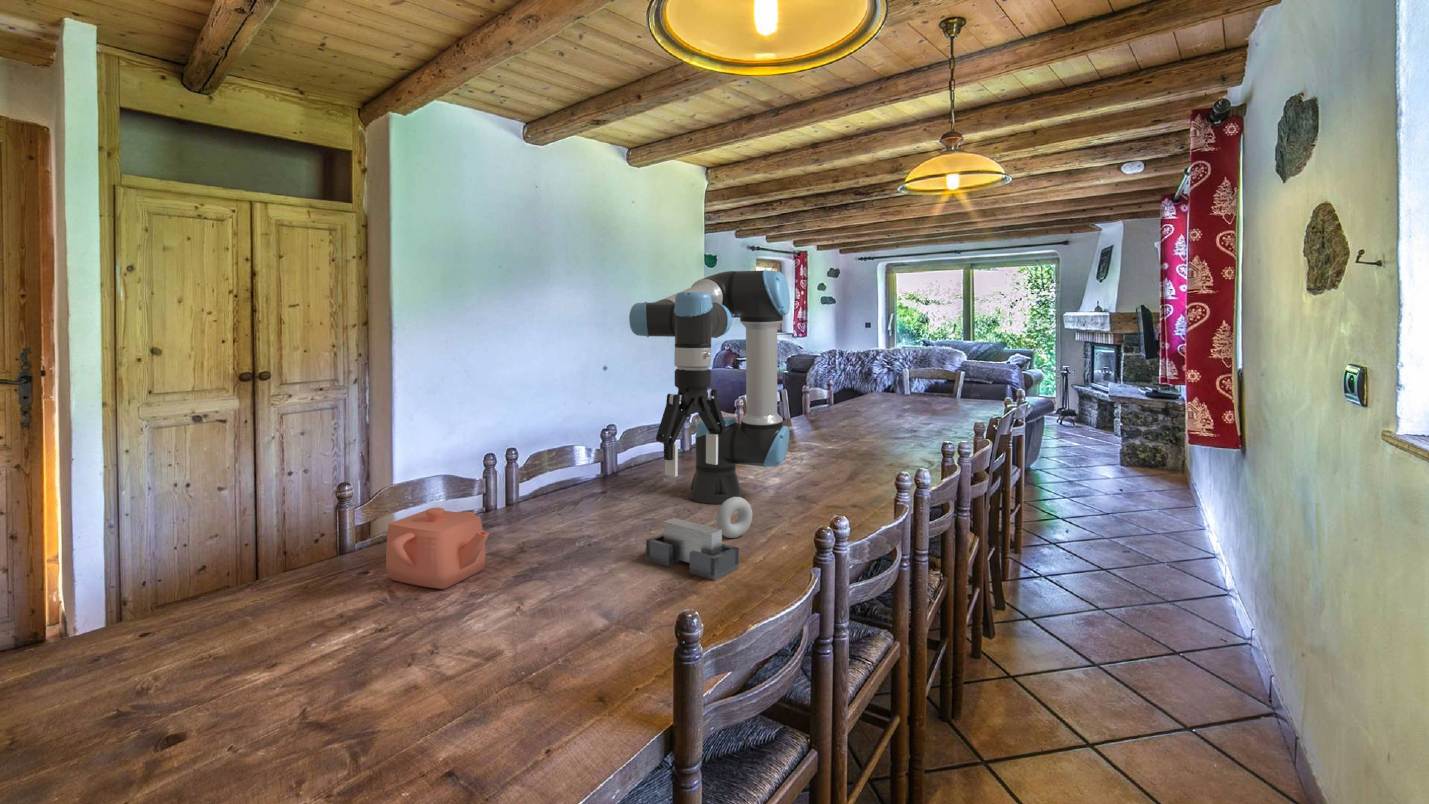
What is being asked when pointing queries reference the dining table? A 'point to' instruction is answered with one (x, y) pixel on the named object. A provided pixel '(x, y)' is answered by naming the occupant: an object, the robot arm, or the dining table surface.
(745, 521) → the donut
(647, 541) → the end link
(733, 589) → the dining table surface
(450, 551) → the teapot
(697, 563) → the end link
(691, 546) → the light grey block
